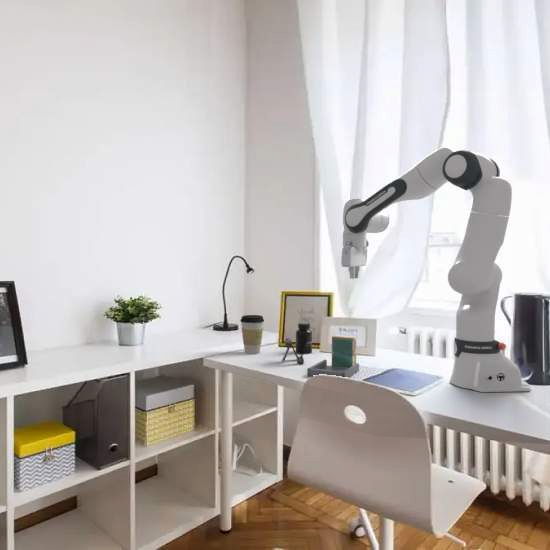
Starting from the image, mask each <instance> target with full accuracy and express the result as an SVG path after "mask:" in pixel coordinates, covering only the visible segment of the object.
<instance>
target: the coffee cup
mask: <svg viewBox="0 0 550 550" xmlns="http://www.w3.org/2000/svg"><path fill="white" fill-rule="evenodd" d="M239 322H241V323H240V324H241V334H242V343H243V349H244V354H246V355H258V354H260V353H261V348H262V347H261V345H262V340H263V339H262V338H263V333H264V332H263V331H264V330H263V329H264V327H263V325H264V322H265V319H264V317H263V315H258V314H248V315H247V314H246V315H245V314H244V315H242V316H241V318H240V321H239Z"/></svg>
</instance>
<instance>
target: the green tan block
mask: <svg viewBox="0 0 550 550" xmlns="http://www.w3.org/2000/svg"><path fill="white" fill-rule="evenodd" d="M356 363H357V336H351V335H350V336H348V335H337V334H333V335H331V366H332V367H341V368H350V367H351V366H353V365H354V364H356Z"/></svg>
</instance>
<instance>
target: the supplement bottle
mask: <svg viewBox="0 0 550 550" xmlns="http://www.w3.org/2000/svg"><path fill="white" fill-rule="evenodd" d="M297 324H298V327H297V328H298V329H296V331H295V352H296V354H300V355H301V354H302V355H305V354H306V355H307V354H311V353H312V352H313V331H312V330H311V324H310V323H309V322H298V323H297Z"/></svg>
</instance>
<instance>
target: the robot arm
mask: <svg viewBox="0 0 550 550" xmlns="http://www.w3.org/2000/svg"><path fill="white" fill-rule="evenodd" d="M447 183H450V184H451V185H454V186H455V187H458V188H460V189H462V190H463V191H464V190H465V191H469V192H470V193H471V195H472V197H471V204H470V205H471V206H470V210H469V211H470V212H469V214H468V220H467V225H466V228H465V233H464V237H463V240H462V242H461V245H460V248H459V249H458V252H457V255H456V258H455V261H454V263H453V265H452V266H451V268H450V269H449V271H448V273H447V282H448V285H449V286H450V288H451V289H452V290H453V291H454V292H456V293H458V294H461V297H460V301H459V305H458V309H456V316H455V317H456V318H455V319H456V320H455V324H456V325H455V337H454V341H453V354H454V360H453V361H454V362H453V367H452V371H451V372H452V373H451V376H450V379H449V383H451V385H453V386H456V387H459V388H463V389H469V390H474V391H476V392H480V393H499V392H500V393H501V392H502V393H503V392H505V393H506V392H507V393H508V392H510V393H511V392H512V393H513V392H529V391H531V389H530V388H531V387H530V386H531V385H530V384H529V383H528V382H526V381H525V380H523V379H522V373H521V370H520V367H518V365H517V364H516V363H514V362H513V360H511V359H510V358H509V357H507V356H506V355H505V354H504V353H502V352H501V351H505V350H506V348H507V344H505V343H504V342H499V340H496V339H495V326H496V325H495V322H496V310H497V305H498V299H499V295H500V286H501V283H502V280H503V272H502V269H501V268H500V266H499V265H498V264H497V263H496V262H495V261H496V258H497V257H498V254H499V251H500V249H501V247H502V246H503V244H504V241H505V237H506V234H507V233H506V232H507V228H508V222H509V219H510V218H509V217H510V214H511V207H512V201H513V200H512V199H513V198H512V197H513V196H512V195H513V193H512V192H513V188H512V187H513V186H512V184H511V182H510V181H508V180H507V179H505V178H503V177H501V169H500V167H499V165H498V164H497V163H496V161H494V160H493V159H492V158H490V157H487V156H485V155H483V154H481V153H478V152H474V151H471V150H466V149H462V150H461V149H460V150H454V149H453V148H450V147H447V146H446V147H445V146H443V147H440V148H438V149H437V150H435V151H433V152H431V153H430V154H428V155H427V156H425V157H424V158H422V159H421V160H419V161H418V162H417V163H416V164H415V165H414V166H413V167H411V168H410V169H409V170H408V171H406V172H404V173H403V174H402V175H400V176H399V177H398V178H396V179H394V180H393V181H391V182H390V183H388V184H386V185H385V186H383V187H382V188H380V189H379V190H378V191H376V192H375V193H373V194H372V195H371V196H369V197H368V198H367V199H363V198H354V199H350V200H348V201H346V202H345V204H344V206H343V213H342V226H343V232H342V249H341V267H342V268H348V273H349V279H350V280H351V279H352V280H353V279H354V280H355V279H359V275H360V268H361V267H364V266H367V262H368V261H367V260H368V248H369V244H370V243H369V241H368V239H367V234H379V233H383V232H384V231H386V230H387V228H388V226H389V223H390V216H389V213H388V211H387V210H386V209H387V208H388V207H390V206H391V205H394V204H396V203H399V202H404V201H414V200H415V201H416V200H422V199H425V198H427V197H429V196H431V195H432V194H434V193H435V192H436V191H438V190H439V189H440V188H441V187H443V186H444V185H446V184H447Z"/></svg>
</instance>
